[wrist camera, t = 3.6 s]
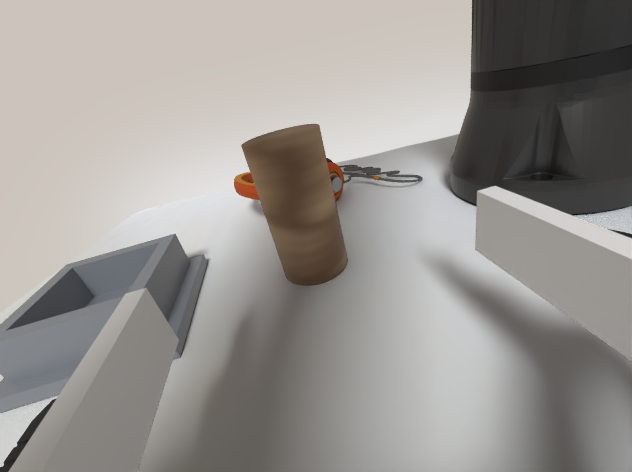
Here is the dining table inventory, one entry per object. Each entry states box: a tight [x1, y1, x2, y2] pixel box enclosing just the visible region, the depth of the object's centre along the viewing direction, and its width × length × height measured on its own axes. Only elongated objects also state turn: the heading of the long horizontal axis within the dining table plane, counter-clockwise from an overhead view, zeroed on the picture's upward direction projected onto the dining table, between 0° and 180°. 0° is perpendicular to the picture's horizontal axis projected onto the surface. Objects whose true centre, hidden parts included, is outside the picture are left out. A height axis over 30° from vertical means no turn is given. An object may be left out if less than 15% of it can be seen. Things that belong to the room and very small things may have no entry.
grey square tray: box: [0, 234, 208, 413], centre depth 21 cm, size 11×11×4 cm
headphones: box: [234, 158, 422, 201], centre depth 35 cm, size 17×5×20 cm
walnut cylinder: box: [242, 124, 348, 285], centre depth 21 cm, size 5×5×10 cm
